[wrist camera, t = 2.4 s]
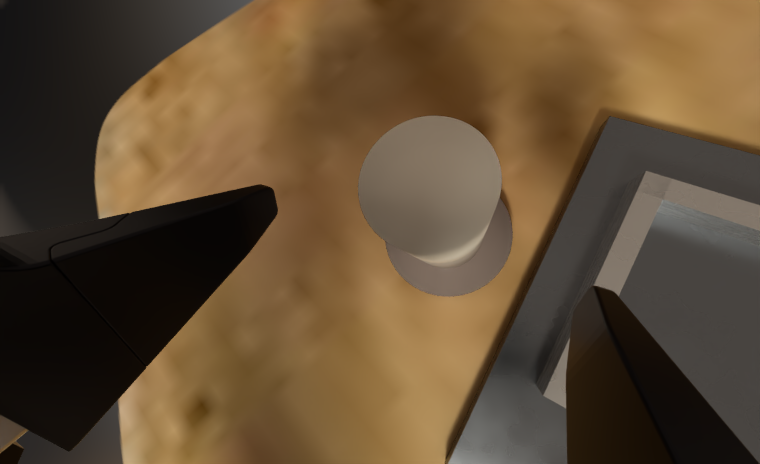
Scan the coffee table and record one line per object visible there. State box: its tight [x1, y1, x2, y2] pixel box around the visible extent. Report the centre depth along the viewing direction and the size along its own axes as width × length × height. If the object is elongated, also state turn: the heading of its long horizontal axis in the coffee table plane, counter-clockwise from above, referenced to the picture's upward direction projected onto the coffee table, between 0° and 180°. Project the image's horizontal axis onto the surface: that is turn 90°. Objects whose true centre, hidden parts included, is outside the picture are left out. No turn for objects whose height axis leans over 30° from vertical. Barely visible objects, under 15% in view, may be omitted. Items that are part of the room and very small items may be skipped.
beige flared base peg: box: [358, 116, 513, 296], centre depth 13 cm, size 7×7×10 cm
